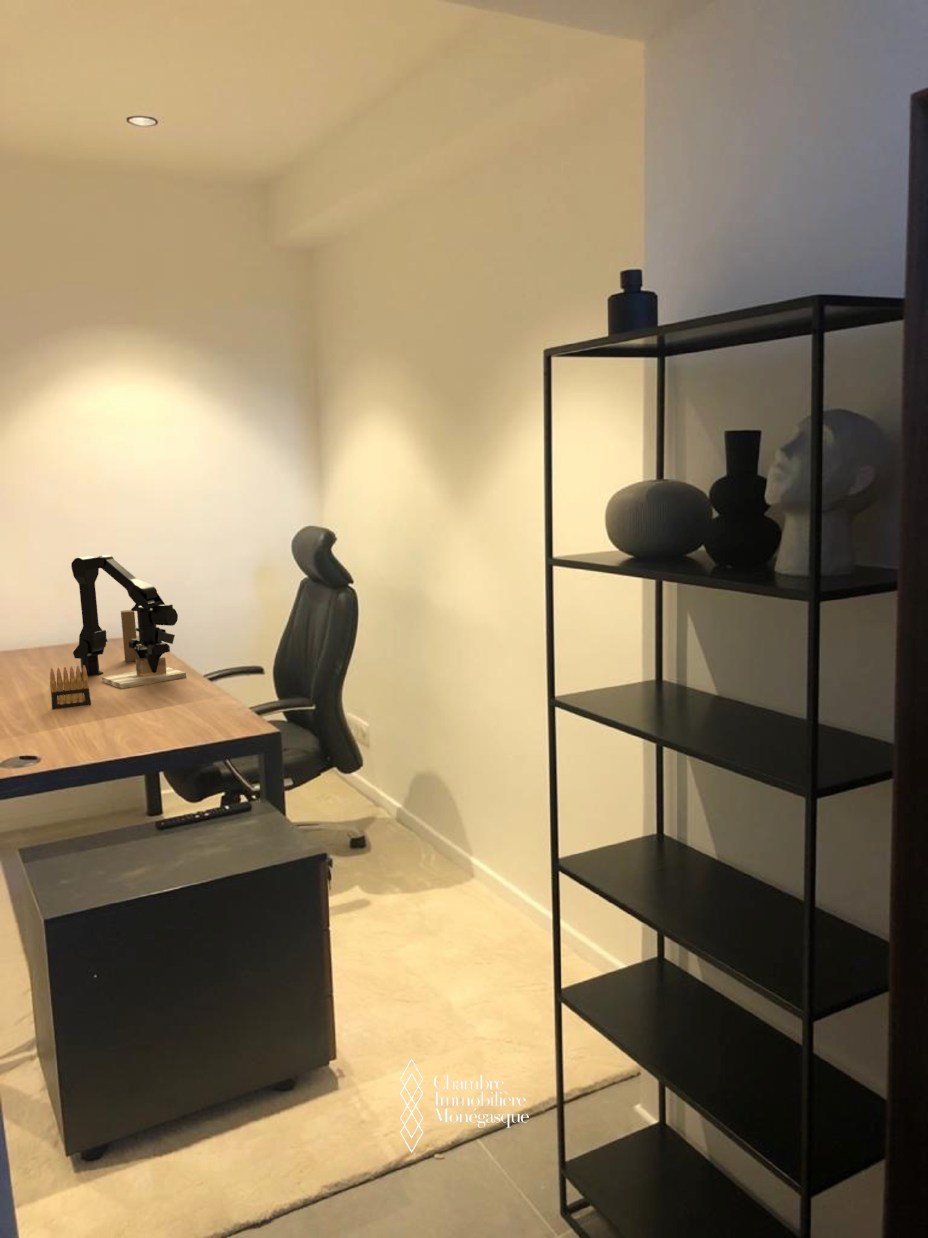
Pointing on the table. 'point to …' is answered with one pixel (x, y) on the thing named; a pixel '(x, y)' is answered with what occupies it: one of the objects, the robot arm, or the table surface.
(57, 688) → the ammunition clip
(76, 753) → the table surface
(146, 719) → the table surface
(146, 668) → the block
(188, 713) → the table surface
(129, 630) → the wooden block
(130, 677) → the pine board
